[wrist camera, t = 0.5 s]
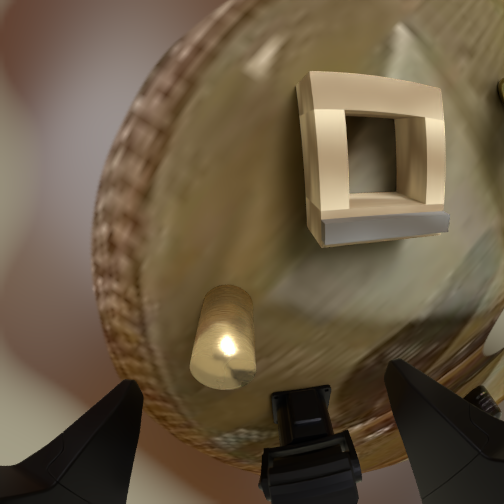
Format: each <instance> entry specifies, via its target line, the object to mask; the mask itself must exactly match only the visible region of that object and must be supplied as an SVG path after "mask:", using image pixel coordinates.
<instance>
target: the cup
mask: <svg viewBox="0 0 504 504" xmlns="http://www.w3.org/2000/svg"><path fill="white" fill-rule="evenodd" d="M498 91H499V95H500V98H501V101H502V103H503V104H504V78H502V79H501V80H500V81H499V84H498Z"/></svg>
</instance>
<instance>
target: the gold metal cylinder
mask: <svg viewBox="0 0 504 504" xmlns="http://www.w3.org/2000/svg"><path fill="white" fill-rule="evenodd" d="M190 370H191V373H192V375H193V376H194V377H195V378H196V379H197V380H198V381H199V382H200V383H202V384H204V385H206V386H208V387H211V388H214V389H220V390H232V389H237V388H240V387H243V386H245V385H247V384H248V383H250V382H251V381H252V380H253V378H254V377H255V374H256V359H255V339H254V319H253V303H252V299H251V297H250V296H249V294H248V293H247V292H246V291H244V290H243V289H241V288H239V287H237V286H233V285H221V286H217V287H215V288H213V289H211V290H210V291H209V292H208V293H207V294H206V296H205V298H204V302H203V306H202V310H201V315H200V319H199V324H198V328H197V333H196V338H195V342H194V347H193V352H192V356H191V361H190Z"/></svg>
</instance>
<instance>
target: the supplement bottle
mask: <svg viewBox="0 0 504 504" xmlns="http://www.w3.org/2000/svg"><path fill="white" fill-rule="evenodd" d="M464 399H465V400H466V401H468V403H471V404H473V405H474V406H476V407H477V408H479V409H481V410H482V411H484V412H486V413H488V414H490V415H492V416H494V417H496V418H498V419H501V416H502V412H501V410H500V408H499V407H498V405H497V404H496V402H495V401H494V399H493V398H492V397H491V395H490V394H489V392H488V391H487V390H486V388H485V387H484V386H478V387H477V388H475V389H474V390H472V391H471V392H470V393H469V394H468V395H467V396H466V397H465V398H464Z"/></svg>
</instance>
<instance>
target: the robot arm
mask: <svg viewBox="0 0 504 504" xmlns="http://www.w3.org/2000/svg"><path fill="white" fill-rule="evenodd" d="M384 382H385V385H386V389H387V393H388V397H389V400H390V404H391V408H392V412H393V415H394V418H395V421H396V424H397V427H398V429H399V432H400V435H401V437H402V440H403V443H404V446H405V449H406V452H407V455H408V458H409V461H410V464H411V467H412V470H413V473H414V476H415V479H416V483H417V486H418V489H419V493H420V496H421V499H422V504H504V421H502V420H500V419H498V418H496V417H494V416H492V415H490V414H488V413H486V412H484V411H482V410H481V409H479V408H477V407H476V406H474V405H473V404H471V403H468V401H466V400H465V399H463V398H461V397H460V396H458V395H457V394H455V393H454V392H452V391H450V390H449V389H447V388H446V387H444V386H443V385H441V384H440V383H438V382H436V381H435V380H433V379H432V378H430V377H429V376H427V375H426V374H424V373H422V372H421V371H419V370H418V369H416V368H415V367H413V366H412V365H410V364H409V363H407V362H405V361H404V360H402V359H400V358H398V359H394V360H390V361H389V363H388V366H387V369H386V372H385V375H384ZM330 394H331V387H330V385H324V386H318V387H312V388H306V389H299V390H291V391H283V392H275V393H273V394H272V395H271V397H272V407H273V417H274V423H275V424H278V430H279V440H280V447H274V448H264V453H263V455H262V466H261V476H260V480H259V484H258V486H259V489H261V490H262V491H263V492H264V494H265V497H266V499H267V500H268V501H271V503H272V504H357V502H358V499H359V497H358V491H357V487H356V483H358V482H361V481H362V474H361V468H360V464H359V460H358V457H357V454H356V451H355V448H354V445H353V442H352V440H351V437H350V434H349V431H348V430H345V431H343V432H341V433H337V434H334V432H333V428H332V424H331V420H330V416H329V413H328V405H329V399H330ZM143 400H144V398H143V394H142V392H141V390H140V388H139V386H138V384H137V382H136V381H135V380H130V379H125V380H123V381H122V382H121V383H119V384H118V385H117V386H116V387H115V388H114V389H113V390H111V391H110V392H109V393H108V394H107V395H106V396H104V397H103V398H102V399H101V400H100V401H99V402H97V403H96V404H95V405H94V406H93V407H92V408H90V409H89V410H88V411H87V412H86V413H85V414H83V415H82V416H81V417H80V418H79V419H78V420H76V421H75V422H74V423H73V424H72V425H71V426H69V427H68V428H67V429H66V430H65V431H64V432H63V433H61V434H60V435H59V436H57V437H56V438H55V439H54V440H52V441H51V442H50V443H49V444H47V445H46V446H44V447H43V448H42V449H40V450H39V451H37V452H36V453H34V454H33V455H31V456H29V457H28V458H26V459H25V460H23V461H22V462H20V463H18V464H16V465H12V466H0V504H126V500H127V494H128V488H129V483H130V477H131V472H132V467H133V462H134V457H135V452H136V448H137V443H138V439H139V433H140V426H141V416H142V408H143ZM343 451H345V452H343Z"/></svg>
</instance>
